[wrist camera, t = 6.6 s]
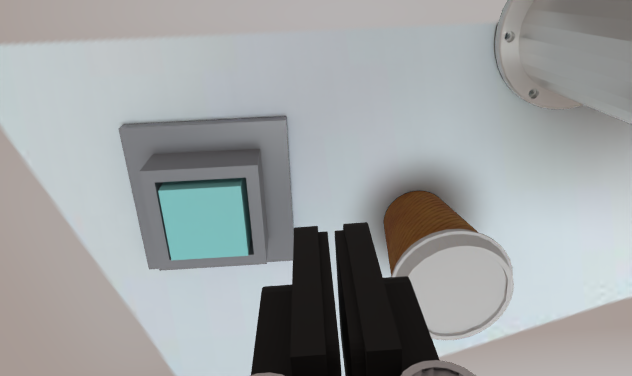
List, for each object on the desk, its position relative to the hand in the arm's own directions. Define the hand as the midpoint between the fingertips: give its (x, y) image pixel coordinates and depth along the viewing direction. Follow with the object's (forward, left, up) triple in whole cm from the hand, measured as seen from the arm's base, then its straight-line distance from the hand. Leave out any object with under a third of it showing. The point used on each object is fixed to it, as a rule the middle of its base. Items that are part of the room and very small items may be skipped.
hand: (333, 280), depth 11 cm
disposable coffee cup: (-11, +15, -31) cm, 36 cm away
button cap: (+8, +11, -29) cm, 32 cm away
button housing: (+8, +11, -31) cm, 34 cm away
